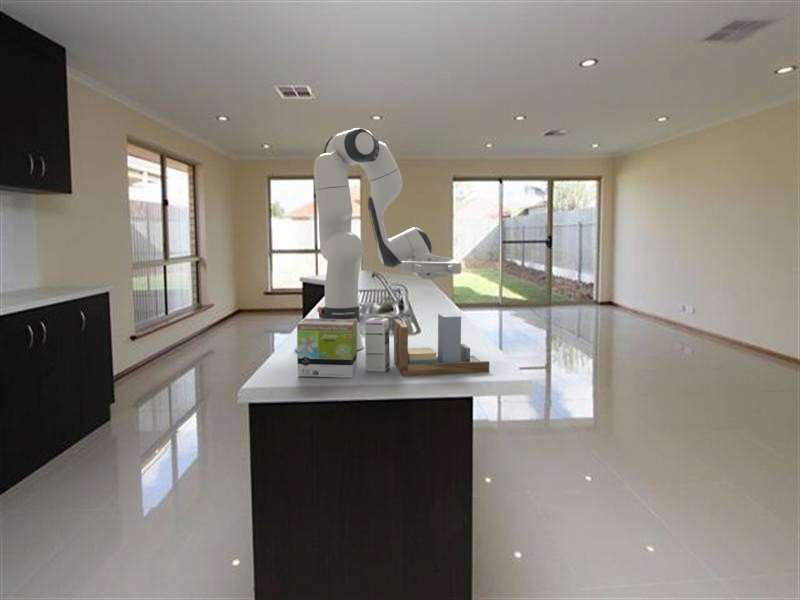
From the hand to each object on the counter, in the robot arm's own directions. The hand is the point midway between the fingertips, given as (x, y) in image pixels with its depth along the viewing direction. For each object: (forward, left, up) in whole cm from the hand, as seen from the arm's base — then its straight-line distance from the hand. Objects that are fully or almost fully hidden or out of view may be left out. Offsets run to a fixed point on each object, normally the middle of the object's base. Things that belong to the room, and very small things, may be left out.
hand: (435, 268), depth 171 cm
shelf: (-4, -21, -27) cm, 35 cm away
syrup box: (-22, -19, -27) cm, 40 cm away
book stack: (-10, -22, -26) cm, 35 cm away
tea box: (-36, -21, -27) cm, 50 cm away
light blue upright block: (-2, -23, -26) cm, 34 cm away
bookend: (+5, -23, -26) cm, 35 cm away
